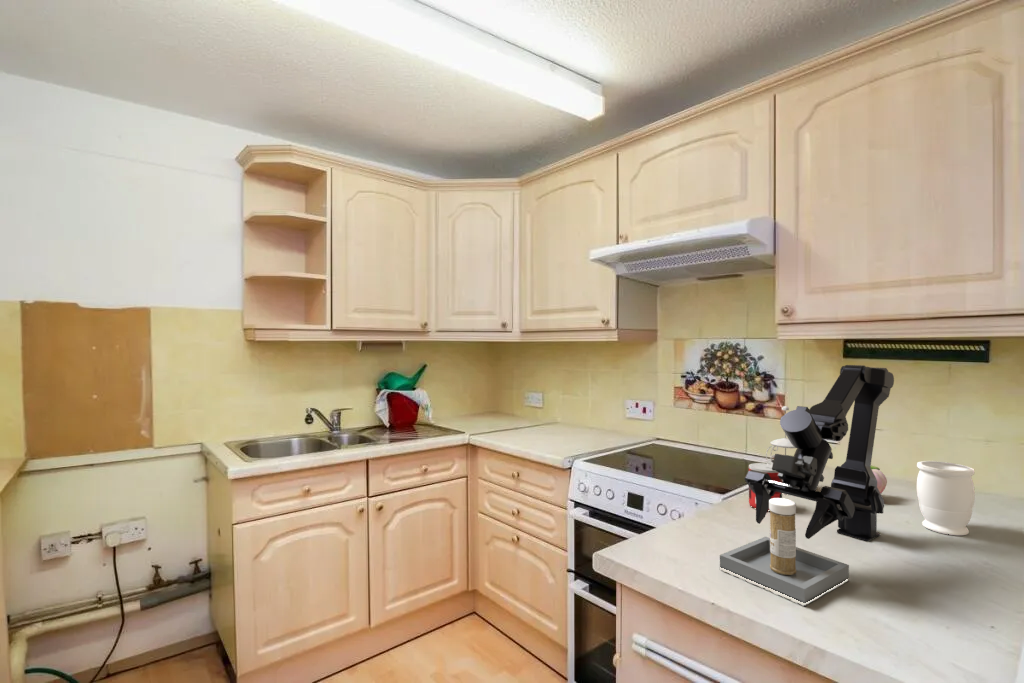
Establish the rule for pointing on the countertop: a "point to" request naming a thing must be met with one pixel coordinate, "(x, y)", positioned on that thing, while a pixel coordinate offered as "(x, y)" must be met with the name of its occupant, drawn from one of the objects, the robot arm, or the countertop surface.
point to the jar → (945, 496)
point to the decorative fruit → (879, 478)
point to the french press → (780, 442)
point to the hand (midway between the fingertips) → (781, 529)
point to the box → (803, 586)
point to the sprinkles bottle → (782, 536)
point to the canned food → (772, 473)
